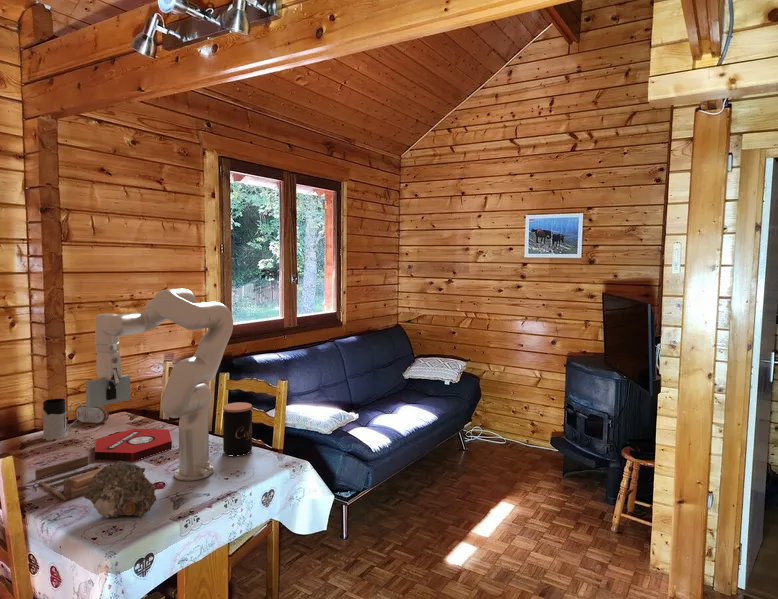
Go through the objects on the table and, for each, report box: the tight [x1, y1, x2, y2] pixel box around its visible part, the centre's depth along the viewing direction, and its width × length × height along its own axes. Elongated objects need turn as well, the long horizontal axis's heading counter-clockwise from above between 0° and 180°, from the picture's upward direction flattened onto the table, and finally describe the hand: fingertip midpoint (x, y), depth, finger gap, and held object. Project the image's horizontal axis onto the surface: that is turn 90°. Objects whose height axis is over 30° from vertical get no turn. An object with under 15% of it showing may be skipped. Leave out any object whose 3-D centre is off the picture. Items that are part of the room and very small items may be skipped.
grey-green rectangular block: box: [85, 374, 131, 408], centre depth 182 cm, size 3×14×9 cm, turn 144°
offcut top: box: [69, 468, 101, 488], centre depth 163 cm, size 4×10×2 cm, turn 152°
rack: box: [34, 455, 104, 502], centre depth 167 cm, size 24×18×6 cm
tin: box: [74, 403, 110, 425], centre depth 226 cm, size 15×3×8 cm, turn 82°
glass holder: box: [42, 398, 83, 441], centre depth 209 cm, size 9×14×15 cm, turn 118°
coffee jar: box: [222, 402, 253, 457], centre depth 194 cm, size 11×11×18 cm
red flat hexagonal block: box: [94, 428, 173, 462], centre depth 197 cm, size 27×4×30 cm
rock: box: [83, 461, 157, 519], centre depth 147 cm, size 18×14×15 cm
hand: (108, 398), depth 183 cm, fingers closed on grey-green rectangular block, 3 cm apart
